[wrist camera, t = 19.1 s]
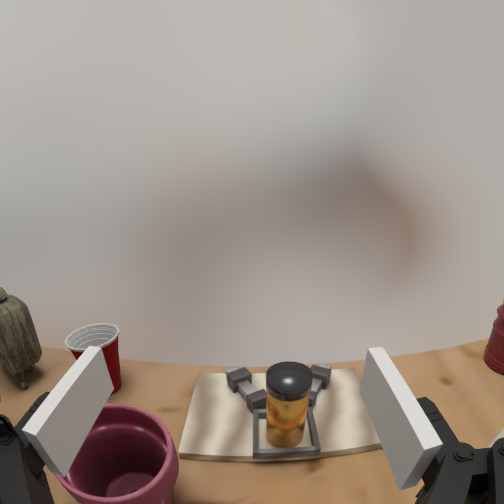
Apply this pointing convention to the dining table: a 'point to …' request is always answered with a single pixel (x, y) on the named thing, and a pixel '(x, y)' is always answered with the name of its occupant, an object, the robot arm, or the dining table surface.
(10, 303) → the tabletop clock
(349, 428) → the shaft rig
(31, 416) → the robot arm
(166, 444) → the plant pot
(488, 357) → the canister
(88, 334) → the plastic cup
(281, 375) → the orange translucent cylinder
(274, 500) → the dining table surface
